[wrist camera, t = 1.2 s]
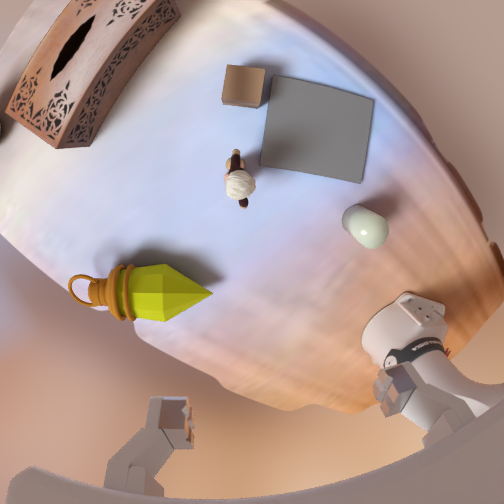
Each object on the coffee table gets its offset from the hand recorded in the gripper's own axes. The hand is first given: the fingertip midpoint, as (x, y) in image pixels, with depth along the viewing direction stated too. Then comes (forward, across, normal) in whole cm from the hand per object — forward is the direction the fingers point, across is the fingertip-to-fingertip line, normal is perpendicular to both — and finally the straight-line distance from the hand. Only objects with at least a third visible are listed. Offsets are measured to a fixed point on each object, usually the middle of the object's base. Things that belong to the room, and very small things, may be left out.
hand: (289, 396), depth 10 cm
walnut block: (+35, +1, +17) cm, 39 cm away
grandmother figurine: (+34, 0, +4) cm, 35 cm away
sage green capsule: (+33, +19, -4) cm, 38 cm away
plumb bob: (+35, -17, -13) cm, 40 cm away
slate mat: (+34, +12, +11) cm, 38 cm away
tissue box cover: (+37, -21, +26) cm, 50 cm away
